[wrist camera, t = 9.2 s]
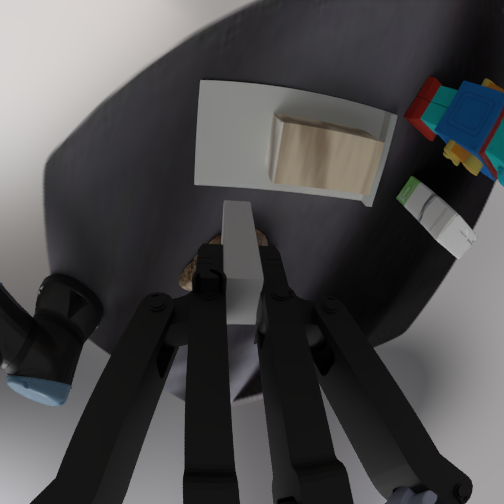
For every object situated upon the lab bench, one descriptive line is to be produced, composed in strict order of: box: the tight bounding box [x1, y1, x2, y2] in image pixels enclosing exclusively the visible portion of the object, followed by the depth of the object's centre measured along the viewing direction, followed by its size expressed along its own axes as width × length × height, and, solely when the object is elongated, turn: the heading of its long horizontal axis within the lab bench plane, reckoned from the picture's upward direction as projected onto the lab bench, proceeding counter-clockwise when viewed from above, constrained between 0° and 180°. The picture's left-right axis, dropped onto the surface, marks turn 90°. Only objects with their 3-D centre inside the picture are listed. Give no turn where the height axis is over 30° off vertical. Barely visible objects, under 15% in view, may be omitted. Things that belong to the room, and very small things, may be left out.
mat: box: [194, 80, 397, 207], centre depth 33 cm, size 25×14×2 cm, turn 83°
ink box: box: [397, 176, 477, 260], centre depth 35 cm, size 9×5×12 cm, turn 62°
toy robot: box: [404, 76, 504, 186], centre depth 20 cm, size 12×6×25 cm, turn 152°
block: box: [265, 113, 384, 195], centre depth 31 cm, size 6×7×12 cm
